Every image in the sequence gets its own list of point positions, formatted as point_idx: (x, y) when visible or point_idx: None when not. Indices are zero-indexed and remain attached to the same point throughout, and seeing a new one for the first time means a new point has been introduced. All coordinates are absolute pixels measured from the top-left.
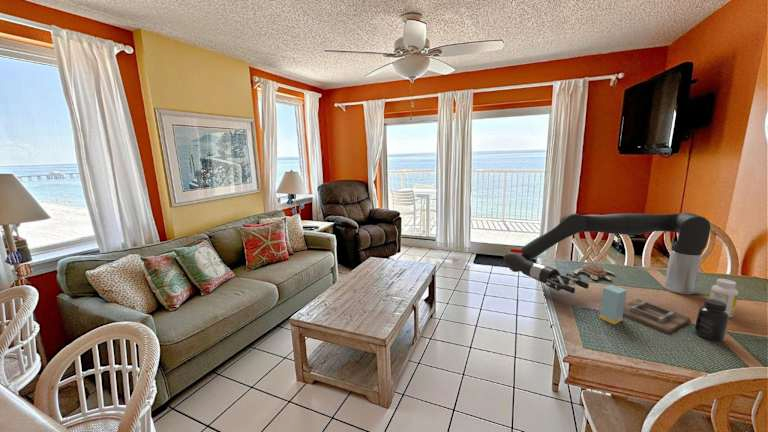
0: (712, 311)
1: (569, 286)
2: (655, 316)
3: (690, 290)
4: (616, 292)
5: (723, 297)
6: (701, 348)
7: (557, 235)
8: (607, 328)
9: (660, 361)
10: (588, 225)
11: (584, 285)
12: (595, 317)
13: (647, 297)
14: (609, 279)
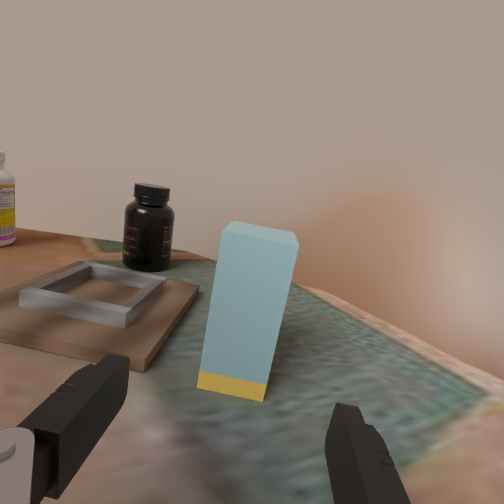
0: (167, 205)
1: (365, 447)
2: (158, 282)
3: None
4: (293, 233)
5: (11, 192)
6: (213, 274)
7: None
8: (313, 370)
9: (328, 305)
10: None
11: (111, 399)
12: (273, 413)
13: None
14: None
